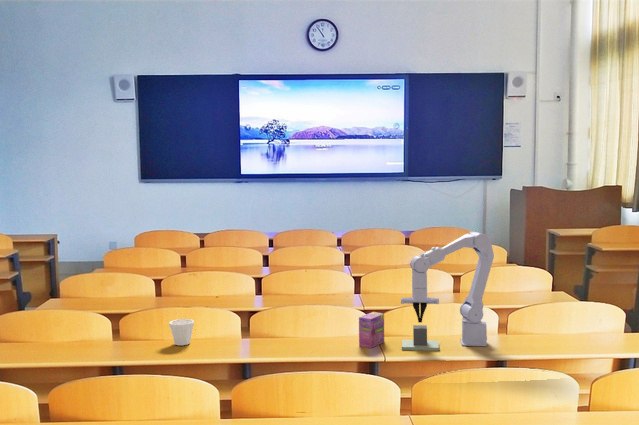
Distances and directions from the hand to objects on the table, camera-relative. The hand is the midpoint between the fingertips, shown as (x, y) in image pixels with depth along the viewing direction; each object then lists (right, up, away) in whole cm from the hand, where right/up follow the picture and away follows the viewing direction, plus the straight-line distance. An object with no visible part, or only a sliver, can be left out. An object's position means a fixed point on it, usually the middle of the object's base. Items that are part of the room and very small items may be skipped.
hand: (420, 321), depth 244 cm
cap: (0, -9, +1) cm, 9 cm away
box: (-18, -10, +6) cm, 22 cm away
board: (0, -10, +1) cm, 10 cm away
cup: (-95, -11, +12) cm, 97 cm away
